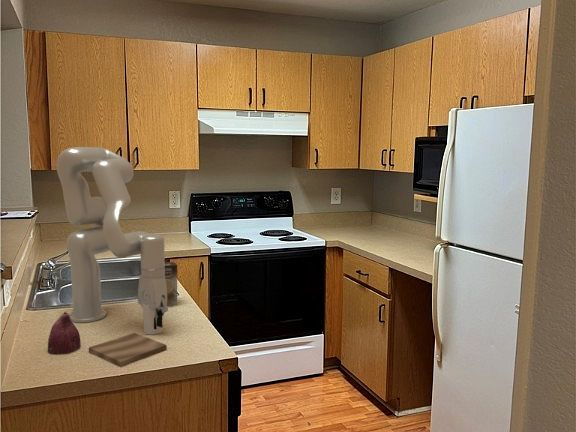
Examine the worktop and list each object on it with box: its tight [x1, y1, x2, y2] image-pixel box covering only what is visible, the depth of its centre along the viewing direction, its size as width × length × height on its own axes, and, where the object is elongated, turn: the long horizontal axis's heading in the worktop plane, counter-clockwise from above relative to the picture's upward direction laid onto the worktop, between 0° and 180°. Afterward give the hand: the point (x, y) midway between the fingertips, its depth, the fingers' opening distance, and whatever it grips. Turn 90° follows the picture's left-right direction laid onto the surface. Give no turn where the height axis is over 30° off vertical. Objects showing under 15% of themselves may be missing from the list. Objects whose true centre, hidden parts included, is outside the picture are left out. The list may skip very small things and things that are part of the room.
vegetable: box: [47, 311, 81, 355], centre depth 154 cm, size 10×9×14 cm
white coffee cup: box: [141, 303, 164, 335], centre depth 170 cm, size 7×7×10 cm
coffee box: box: [165, 261, 178, 307], centre depth 199 cm, size 9×6×16 cm
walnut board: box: [88, 332, 168, 368], centre depth 154 cm, size 16×16×2 cm
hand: (153, 326), depth 170 cm, fingers closed on white coffee cup, 3 cm apart
